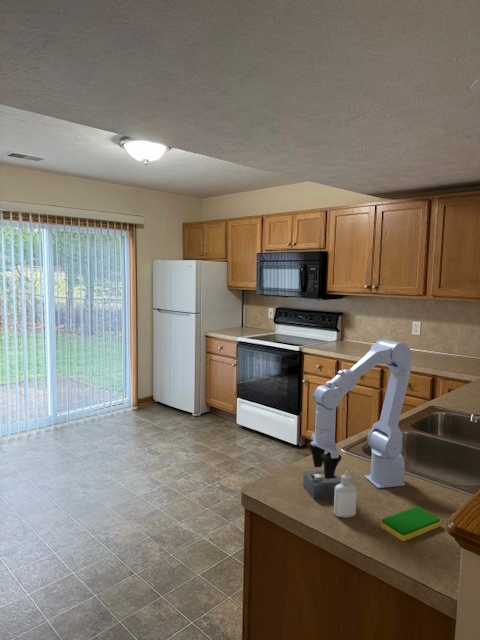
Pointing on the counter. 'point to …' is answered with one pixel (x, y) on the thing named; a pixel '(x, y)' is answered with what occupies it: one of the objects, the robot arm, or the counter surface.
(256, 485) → the counter surface
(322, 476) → the block
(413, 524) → the dish sponge
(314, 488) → the slot box
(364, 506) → the counter surface
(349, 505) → the eye dropper bottle
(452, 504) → the counter surface
